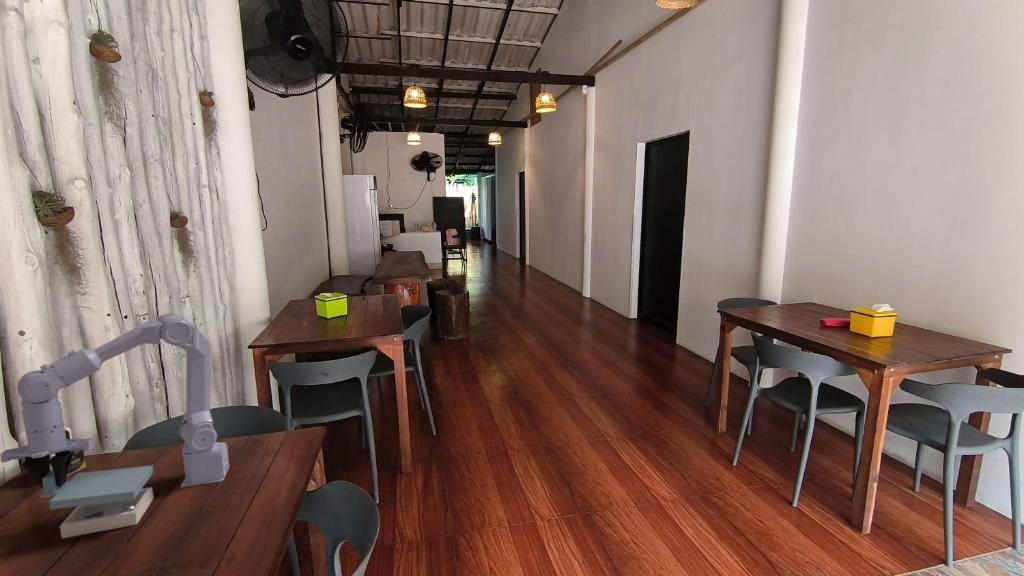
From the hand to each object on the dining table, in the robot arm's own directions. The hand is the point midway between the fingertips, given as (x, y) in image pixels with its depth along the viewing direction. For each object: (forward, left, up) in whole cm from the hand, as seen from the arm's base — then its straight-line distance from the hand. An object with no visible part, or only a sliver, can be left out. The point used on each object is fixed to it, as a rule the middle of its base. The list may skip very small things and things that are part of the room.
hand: (54, 485), depth 99 cm
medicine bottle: (+12, -28, -11) cm, 32 cm away
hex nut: (-12, -1, -10) cm, 15 cm away
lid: (-7, 0, -3) cm, 8 cm away
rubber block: (-6, +1, -10) cm, 12 cm away
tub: (-9, 0, -10) cm, 14 cm away
